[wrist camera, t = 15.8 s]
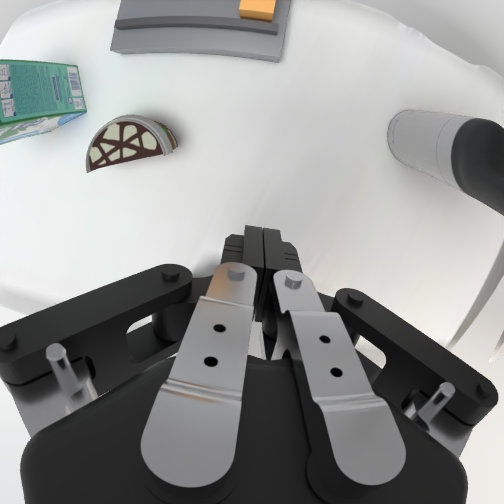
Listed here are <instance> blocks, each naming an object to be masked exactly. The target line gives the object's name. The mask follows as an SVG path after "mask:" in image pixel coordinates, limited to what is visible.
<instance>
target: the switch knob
mask: <svg viewBox="0 0 504 504" xmlns="http://www.w3.org/2000/svg"><path fill="white" fill-rule="evenodd" d="M275 2H276V0H241V2H240V6H239V12H240V18H241V19H248V20H256V21H264V22H270V23H272V18H273V13H274V7H275Z"/></svg>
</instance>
